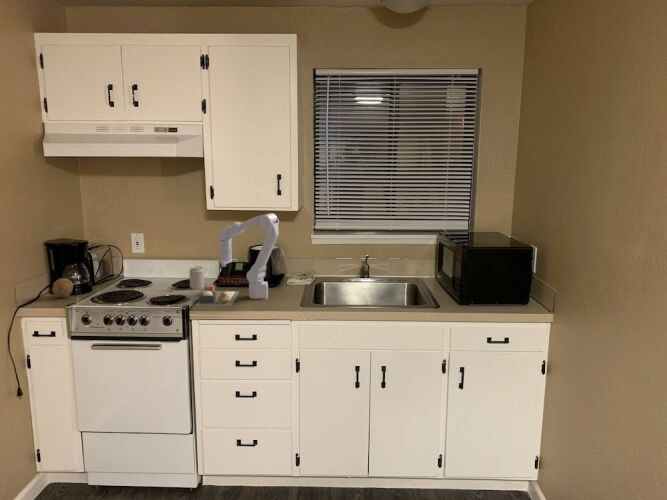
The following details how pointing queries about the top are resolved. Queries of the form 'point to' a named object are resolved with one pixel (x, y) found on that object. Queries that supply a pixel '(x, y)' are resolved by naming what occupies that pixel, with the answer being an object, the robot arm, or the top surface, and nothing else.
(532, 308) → the top surface
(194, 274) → the can
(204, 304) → the board
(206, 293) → the dome
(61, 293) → the natural sponge
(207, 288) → the die
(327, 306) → the top surface
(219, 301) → the pawn
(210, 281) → the top surface
